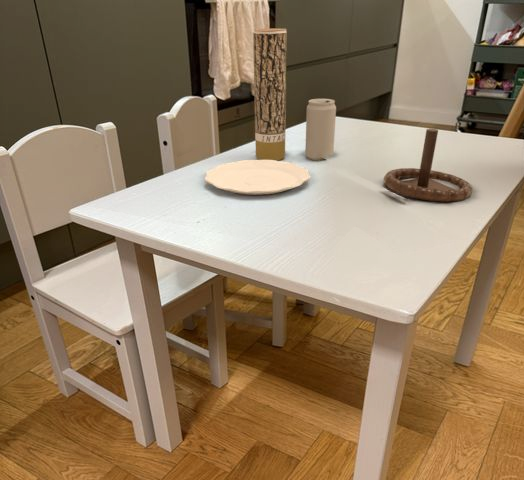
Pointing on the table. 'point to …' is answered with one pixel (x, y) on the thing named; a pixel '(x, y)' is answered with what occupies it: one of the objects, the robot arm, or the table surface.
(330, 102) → the beverage can
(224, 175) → the plate
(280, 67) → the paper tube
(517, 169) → the table surface
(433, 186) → the peg stand
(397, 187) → the ring
